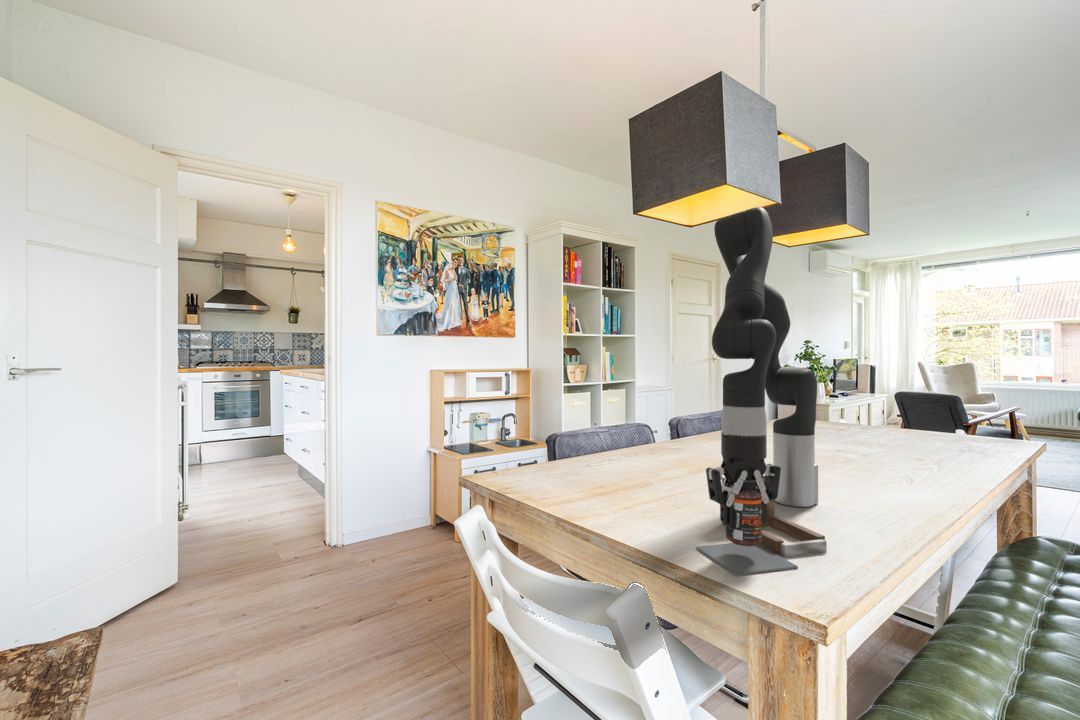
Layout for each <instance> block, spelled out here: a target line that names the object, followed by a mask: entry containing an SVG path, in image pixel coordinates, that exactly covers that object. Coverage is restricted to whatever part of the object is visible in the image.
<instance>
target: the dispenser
mask: <svg viewBox="0 0 1080 720" xmlns="http://www.w3.org/2000/svg"><path fill="white" fill-rule="evenodd" d="M764 478H765V475H763V476H762V480H763V483H764ZM724 479H725V477H723V479H722V480H721V485H722V484H723V482H724ZM731 487H732V486H731V485H730V488H731ZM770 491H771V490H770ZM775 502H776V501H775V499H772V500H770V501H769V502H768V503H767V519H766V521H765V524H762V528H771V529H773V530H776V531H778V532H779V533H782V534H784V535H786V536H788V537H790V538H792V539H794V540H796V541H792V542H784V540H783V539H782V538H779V537H778V536H775V535H773V534H772V533H769V532H767V531H765V530H762V538H761V543H760V544H759V545H760V546H762V547H764V548H766V549H767V550H769V551H771V552H773V553H775V554H777V555H780V556H783V557H784V558H785V557H786V558H787V557H793V556H801V555H802V556H803V555H811V554H819V553H821V554H822V553H827V540H826V536H825V535H824V534H821V533H818V532H816V531H815V530H814V531H813V530H812V529H809V528H807V527H804V526H802V525H800V524H798V523H796V522H793V521H791V520H790V519H789V520H788V519H786V518H785V517H782V516H779V515H775V513H776V511H775ZM721 524H722V525H723V523H722V522H721Z"/></svg>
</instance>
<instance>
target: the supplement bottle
mask: <svg viewBox="0 0 1080 720" xmlns="http://www.w3.org/2000/svg"><path fill="white" fill-rule="evenodd" d="M732 487H733V486H732ZM732 487H731V488H732ZM732 507H733V527H727V526H725V536H726V539H727V540H728V541H729V543H735V544H737V545H742V546H756V545H759V544H760V543H761V538H762V530H763V529H764V528H763V527H762V495H761V493H760V492H758V490H757V489H756V481H755V480H745V481H744V482H743V484H742V487H741V489H740V491H739V494H738V495H737V496H735V499H734V501H733V504H732ZM763 531H764V530H763Z"/></svg>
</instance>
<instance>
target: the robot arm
mask: <svg viewBox="0 0 1080 720" xmlns="http://www.w3.org/2000/svg"><path fill="white" fill-rule="evenodd" d="M713 227H714V237H715V241H716V244H717V247H718V250H719V252H720V255H721V258H722V260H723V262H724V264H725V266H726V269H727V271H728V274H729V275H730V276H729V278H728V280H727V282H726V286H725V290H724V291H725V292H724V305H723V306H724V307H723V309H722V312H721V315H720V317H719V319H718V320H717V322H716V324H715V327H714V328H713V331H712V332H713V333H712V336H711V347H712V350H713V352H714V353H715V355H717V357H719V358H721V359H724V360H725V359H726V360H753V363H752V365H751V366H750V367H749V368H747V369H744V370H739V371H734V372H729V373H727V374H725V375H724V376H723V379H722V411H721V416H720V417H721V419H720V421H721V422H720V428H721V429H720V431H721V432H720V433H721V435H720V436H721V437H720V440H721V441H720V442H721V444H720V446H721V448H720V451H721V452H720V453H721V457H722V462H721V464H720V466H719V467H718V466H717V467H714V468H712V467H710V466H709V467H707V468H705V473H706V481H707V488H708V495H709V497H708V498H709V500H710V501H712V502H713V501H714V502H716V503H717V504H719V507H720V508H719V511H720V512H719V515H720V516H719V520H720V522H721V524H722V523H723V524H722V525H723V526H725V527H726V526H727V527H733V507H732V504H733V501H734V499H735V496H737V495H738V494H739V491H740V489H741V487H742V484H743V482H744V481H745V480H755V481H756V489H757V490H758V492H760V493H761V495H762V524H765V521H766V519H767V503H768V502H769V501H770V500H772V499H775V502H776V503H778V504H780V505H785V506H791V507H797V508H798V507H800V508H804V507H805V508H807V507H808V508H809V507H813V506H815V505H816V504H817V505H818V504H819V465H818V464H816V463H815V462H816V461H815V459H816V457H815V456H816V452H815V451H816V450H815V449H816V448H815V447H816V445H815V438H816V437H815V429H816V421H817V420H816V419H817V401H818V380H817V376H816V374H815V372H814V371H813V370H811V369H809V368H783V367H782V366H781V364H780V363H781V362H780V359H779V354H780V352H781V349H782V346H783V345H784V343H785V340H786V339H787V336H788V334H789V332H790V328H791V319H790V315H789V312H788V309H787V305H786V301H785V299H784V297H783V296H782V294H781V293H780V292H779V291H778V290H776V288H774V287H773V286H772V285H770V284H769V283H768V282H766V281H765V280H766V273H767V269H768V265H769V261H770V257H771V251H772V247H773V241H774V232H773V225H772V221H771V218H770V216H769V213H768V212H767V210H766V209H764V207H762V206H761V207H760V206H756V207H752V208H749V209H745V210H743V211H738V212H737V213H733V214H730V215H727V216H724V217H722V218H719V219H717V220H716V221H715V224H714V226H713ZM742 256H744V257H742ZM766 395H767V398H768V399H769V401H770V402H771V403H773V404H775V405H780V406H795V411H794V413H792V414H791V415H789V416H787V417H782V418H779V419H776V420H774V421H773V424H772V428H773V429H772V437H773V438H772V453H773V454H772V462H773V463H767V464H766V462H765V460H766V458H767V455H768V454H767V451H768V450H767V440H768V439H767V438H768V437H767V427H768V426H767V423H768V422H767V415H766V413H767V412H766V407H765V406H766ZM762 476H765V478H764V483H763V480H762ZM723 478H725V479H724V482H723V484H722V479H723ZM730 485H731V486H733V487H732V488H730ZM770 490H771V491H770Z"/></svg>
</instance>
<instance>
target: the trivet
mask: <svg viewBox="0 0 1080 720" xmlns="http://www.w3.org/2000/svg"><path fill="white" fill-rule="evenodd" d="M695 548H696V550H698V551H699V552H700V553H701V554H703V555H704V556H707V557H708V558H709V559H710V560H712V561H713V562H715V563H717V565H719V566H721V567H722V568H724V569H725V570H726V571H728V572H729V571H730V573H731V574H732V573H733V574H732V575H734V576H735V575H736V577H738V576H739V575H740V576H745V575H746V574H748V575H754V574H762V573H770V572H779V571H787V570H788V571H789V570H797V569H799V567H798V565H796V564H795V563H793V562H791V561H789V560H787V558H785V557H782V556H781V555H779V554H775V553H773V552H771V551H769V550H767V549H766V548H764V547H762V546H760V545H756V546H742V545H737V544H735V543H732V542H728V543H727V542H726V543H720V544H719V543H717V544H709V545H699V546H696V547H695ZM746 576H747V575H746Z"/></svg>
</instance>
